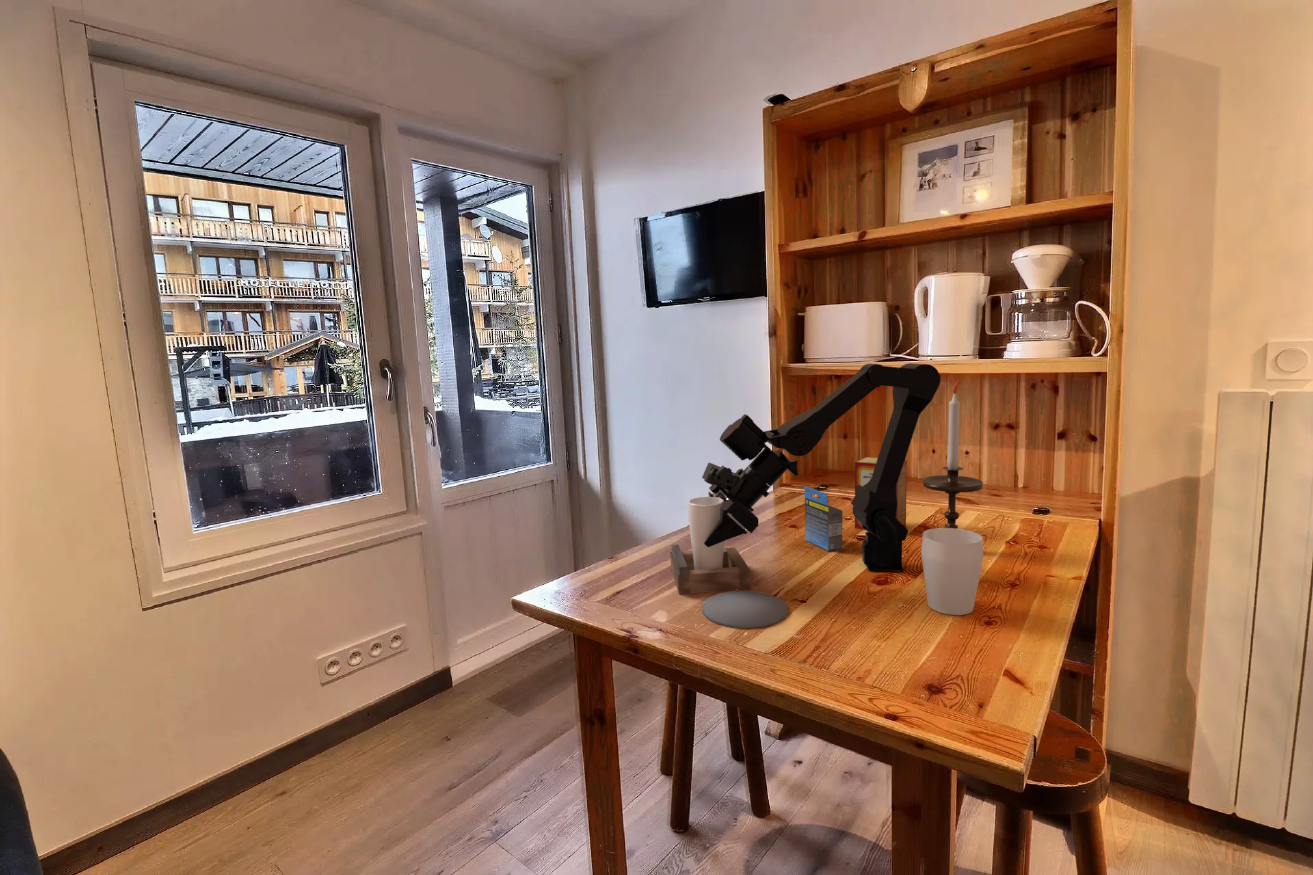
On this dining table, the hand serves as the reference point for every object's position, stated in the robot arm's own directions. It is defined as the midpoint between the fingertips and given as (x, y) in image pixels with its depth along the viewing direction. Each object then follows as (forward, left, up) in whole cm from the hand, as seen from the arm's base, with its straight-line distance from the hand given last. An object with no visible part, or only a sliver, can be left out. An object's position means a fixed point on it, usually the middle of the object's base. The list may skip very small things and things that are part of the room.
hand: (701, 537), depth 120 cm
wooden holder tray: (-1, 0, -8) cm, 8 cm away
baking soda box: (-38, -34, -8) cm, 52 cm away
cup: (-41, +11, -8) cm, 43 cm away
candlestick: (-49, -18, -8) cm, 53 cm away
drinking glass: (-1, 0, -8) cm, 8 cm away
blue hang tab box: (-24, -21, -8) cm, 33 cm away
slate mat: (-8, +14, -8) cm, 18 cm away
